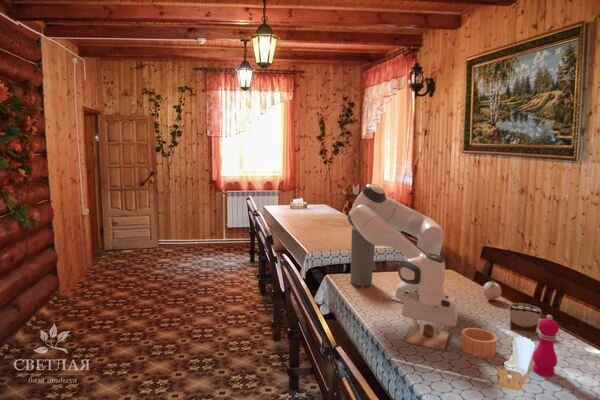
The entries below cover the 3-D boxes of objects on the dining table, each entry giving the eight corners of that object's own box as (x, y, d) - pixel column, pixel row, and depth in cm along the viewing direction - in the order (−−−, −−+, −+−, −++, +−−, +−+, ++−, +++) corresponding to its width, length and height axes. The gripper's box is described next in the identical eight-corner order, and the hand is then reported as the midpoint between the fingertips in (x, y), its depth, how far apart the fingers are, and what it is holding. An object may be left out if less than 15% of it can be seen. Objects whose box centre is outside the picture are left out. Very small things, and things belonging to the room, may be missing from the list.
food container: (537, 328, 189) (540, 305, 187) (539, 334, 183) (542, 310, 182) (505, 323, 193) (507, 300, 191) (506, 329, 187) (508, 305, 186)
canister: (345, 279, 244) (349, 215, 239) (368, 279, 247) (372, 215, 242) (352, 287, 232) (356, 220, 227) (376, 287, 234) (380, 220, 229)
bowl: (458, 353, 164) (460, 337, 164) (462, 340, 175) (463, 325, 174) (494, 361, 159) (496, 344, 159) (496, 347, 170) (497, 332, 169)
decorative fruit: (501, 305, 215) (503, 284, 213) (482, 302, 217) (484, 282, 216) (499, 298, 223) (501, 278, 222) (481, 296, 226) (483, 276, 225)
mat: (402, 343, 171) (402, 342, 171) (410, 327, 185) (410, 326, 185) (446, 353, 164) (446, 351, 164) (452, 336, 179) (452, 334, 179)
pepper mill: (526, 366, 156) (532, 310, 154) (546, 366, 157) (553, 310, 154) (539, 377, 149) (546, 319, 146) (560, 377, 150) (567, 319, 147)
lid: (405, 341, 171) (406, 329, 171) (412, 327, 184) (413, 316, 183) (444, 350, 165) (445, 337, 165) (449, 335, 178) (450, 323, 177)
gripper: (401, 294, 174) (398, 329, 176) (457, 304, 165) (454, 340, 167) (404, 289, 180) (402, 323, 181) (459, 299, 171) (456, 334, 173)
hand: (427, 331), depth 174 cm, fingers open, 6 cm apart
